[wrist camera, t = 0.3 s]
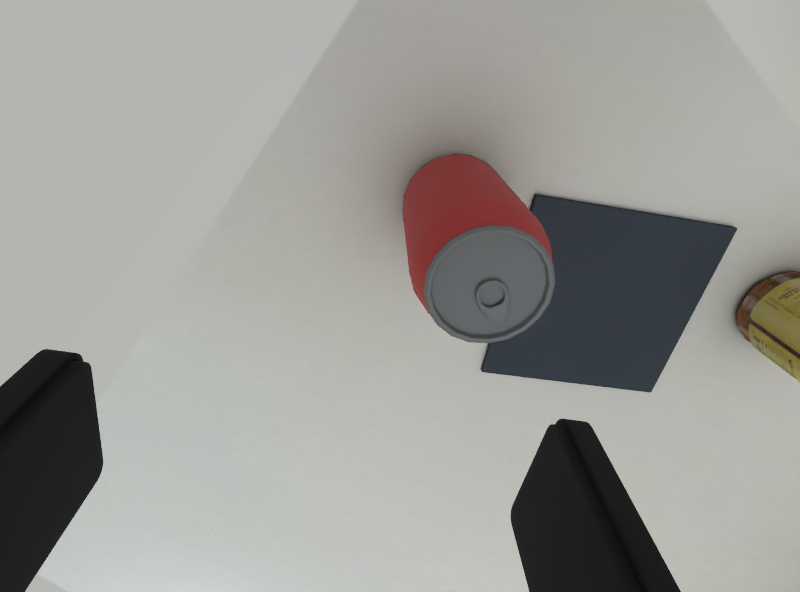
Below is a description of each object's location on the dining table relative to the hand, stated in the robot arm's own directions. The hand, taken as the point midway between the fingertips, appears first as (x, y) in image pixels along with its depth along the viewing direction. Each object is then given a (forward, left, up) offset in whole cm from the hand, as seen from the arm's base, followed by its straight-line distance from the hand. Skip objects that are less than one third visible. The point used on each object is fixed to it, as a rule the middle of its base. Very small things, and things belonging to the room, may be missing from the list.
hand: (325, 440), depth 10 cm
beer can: (+1, +6, -22) cm, 23 cm away
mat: (+6, +18, -22) cm, 29 cm away
